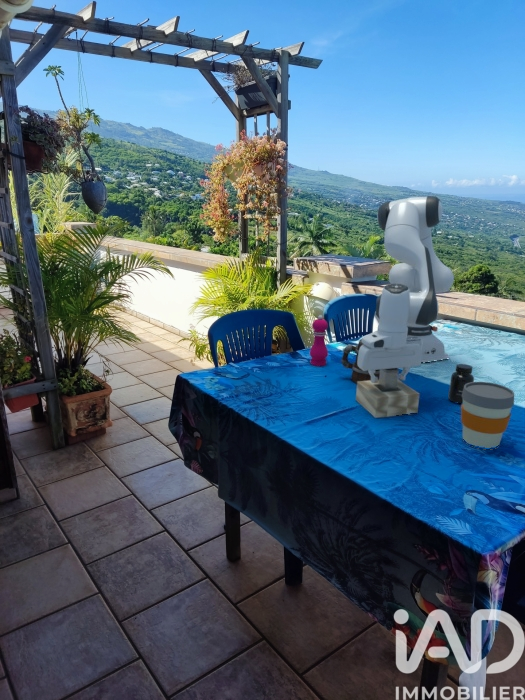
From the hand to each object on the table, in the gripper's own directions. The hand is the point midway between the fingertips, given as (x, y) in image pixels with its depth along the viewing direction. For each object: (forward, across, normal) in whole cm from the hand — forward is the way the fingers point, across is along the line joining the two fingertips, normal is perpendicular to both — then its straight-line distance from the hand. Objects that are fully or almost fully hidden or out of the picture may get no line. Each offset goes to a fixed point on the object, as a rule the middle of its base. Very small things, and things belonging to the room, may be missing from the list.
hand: (387, 381), depth 147 cm
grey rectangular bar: (+8, 0, 0) cm, 8 cm away
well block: (+9, 0, 0) cm, 9 cm away
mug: (+9, -3, -24) cm, 26 cm away
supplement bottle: (+9, -26, +1) cm, 27 cm away
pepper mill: (+9, +6, -45) cm, 46 cm away
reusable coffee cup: (+9, -14, +27) cm, 32 cm away
